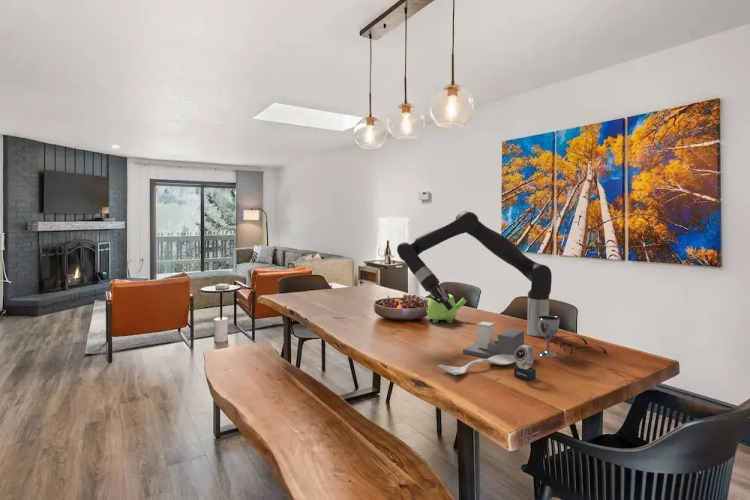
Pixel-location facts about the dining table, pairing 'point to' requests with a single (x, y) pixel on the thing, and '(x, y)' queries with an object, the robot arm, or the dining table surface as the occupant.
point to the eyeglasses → (572, 346)
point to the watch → (520, 358)
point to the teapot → (443, 310)
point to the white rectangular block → (485, 334)
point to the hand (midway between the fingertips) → (451, 309)
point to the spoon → (496, 359)
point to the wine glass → (548, 331)
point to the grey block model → (499, 344)
